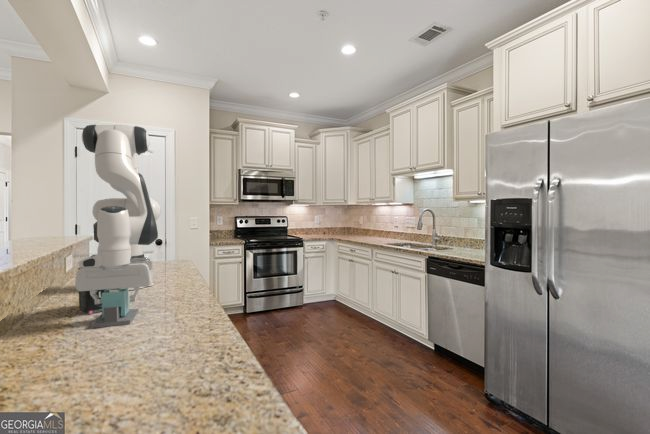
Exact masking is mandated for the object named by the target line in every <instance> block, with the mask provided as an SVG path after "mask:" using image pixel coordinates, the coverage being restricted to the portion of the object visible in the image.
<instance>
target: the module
mask: <svg viewBox="0 0 650 434" xmlns="http://www.w3.org/2000/svg"><path fill="white" fill-rule="evenodd" d="M112 306H117V307H121V316H125V315H126V314H127V313H128V312H129V309H130V290H129V288H120V289H107V290H106V291H104V292H103V293H102V312H101V314H102V318H104V308H105V307H112Z"/></svg>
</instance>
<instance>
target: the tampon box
mask: <svg viewBox="0 0 650 434" xmlns="http://www.w3.org/2000/svg"><path fill="white" fill-rule="evenodd" d="M80 268H81V267H78V269H77V271H78V270H79V269H80ZM106 290H107V289H106ZM106 290H97V293H96V294H97V296H98V297H99V298H101V297H102V293H103V292H104V291H106ZM78 297H79V298H78V307H79V311H82V312H84V313H86V315H87V314H88V315H93V314H97V313H102V303H101V304H98V305H95V299H93V297H92V296H91V295H90V291H78Z"/></svg>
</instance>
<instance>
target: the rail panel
mask: <svg viewBox="0 0 650 434" xmlns="http://www.w3.org/2000/svg"><path fill="white" fill-rule="evenodd" d="M137 314H139V308H132V309H131V308H129V312H128V313H127V314H126V315H125V316H121V307H117V306H112V307H105V308H104V318H102V313H101V314H100V315H99V316H98V317H96V319H94V321H93V322H91V324H90V329H95V328H108V327H116V326H126V325H131V323H132V322H133V321H134V319H135V318H136V316H137Z"/></svg>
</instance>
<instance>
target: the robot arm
mask: <svg viewBox="0 0 650 434" xmlns="http://www.w3.org/2000/svg"><path fill="white" fill-rule="evenodd" d="M81 142H82V144H83V146H84V148H85V150H87V151H89V152H90V153H94V167H95V168H94V169H95V172H96V174H97V176H98V177H99V178H100V179H102V181H104V182H105V183H108V184H109V186H110V187H111V188H112V189H113V190H115V191H117V192H119V193H121V194H123V195H124V196H125V197H126V198H125V197H124V198H116V197H115V198H114V197H113V198H111V197H110V198H105V199H100V200H99V199H98V200H97V201H96V202H95V203H94V205H93V206H92V216H93V217H94V220H96V221H95V223H93V224H92V225H93V240H94V241H95V242H97V243H98V247H97V254H94V255H91V256H88V257H84V258H83V259H81V260H79V262H78V266H79V267H78V268H80V269H79V270H78V269H77V271H76V273H75V281H74V285H75V288H74V289H75V290H76V291H78V292H79V291H90V295H91V296H92V297H93V299H95V305H98V304H101V303H102V297H101V298H99V297H98V296H97V294H96V293H97V290H106V289H120V288H129V291H132V290H133V294H131V295H129V303H131V302H132V303H133V302H136V301H137V295H138V293H139V292H140V289H143V288H146V287H152V286H154V281H153V275H152V269H153V261H152V260H151V259H150V258H148V257H147V256H145V254H144V246H149V245H151V244H153V243H154V242H155V241H156V240H157V239H158V237H159V234H160V233H159V231H160V230H159V226H158V223H157V220H158V219H159V218H160V216H161V212H162V211H161V210H162V209H161V206H160V204H159V203H158V201H157V200H155V199H154V198H152V197H151V196H150V195H149V191H148V188H147V184H146V181H145V178H144V176H143V175H142V174H141V173H139V172H140V171H139V163H138V158H137V155H138V156H140V155H142V154H145V153H146V152H147V151H148V150H149V147H150V145H151V144H150V143H151V140H150V135H149V133H148V132H147V130H146V129H145V128H144V127H141V126H137V125H135V126H132V125H125V124H100V125H98V124H89V125H86V126H85V127H83V129H82V133H81Z"/></svg>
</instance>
